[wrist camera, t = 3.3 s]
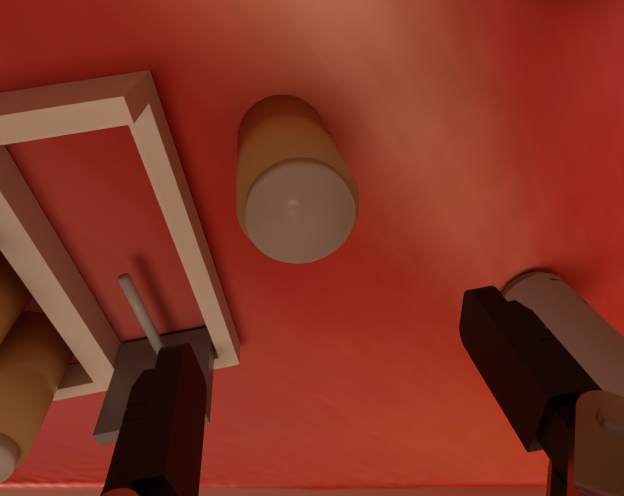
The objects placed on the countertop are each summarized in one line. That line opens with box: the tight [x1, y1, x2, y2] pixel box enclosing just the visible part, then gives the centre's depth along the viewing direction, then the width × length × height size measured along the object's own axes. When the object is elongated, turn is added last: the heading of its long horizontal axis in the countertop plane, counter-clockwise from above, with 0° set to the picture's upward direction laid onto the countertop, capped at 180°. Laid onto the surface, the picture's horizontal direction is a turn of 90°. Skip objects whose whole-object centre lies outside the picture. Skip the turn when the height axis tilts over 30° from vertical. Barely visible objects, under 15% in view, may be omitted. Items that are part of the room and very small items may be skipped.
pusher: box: [93, 273, 215, 445], centre depth 27 cm, size 9×7×8 cm
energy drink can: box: [502, 272, 624, 397], centre depth 31 cm, size 6×6×15 cm
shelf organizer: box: [0, 70, 240, 401], centre depth 24 cm, size 23×21×8 cm
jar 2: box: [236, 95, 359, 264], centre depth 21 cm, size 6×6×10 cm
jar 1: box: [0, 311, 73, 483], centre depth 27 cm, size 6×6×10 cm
